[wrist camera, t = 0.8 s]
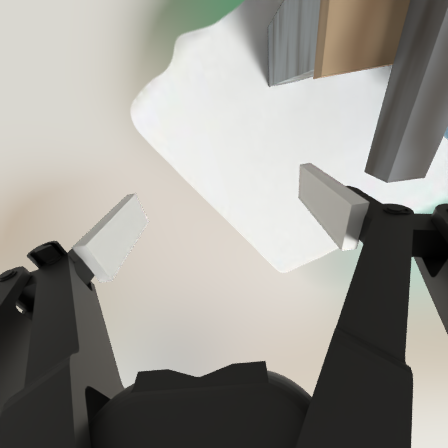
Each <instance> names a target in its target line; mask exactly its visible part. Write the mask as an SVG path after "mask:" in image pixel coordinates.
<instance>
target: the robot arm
mask: <svg viewBox="0 0 448 448" xmlns="http://www.w3.org/2000/svg"><path fill="white" fill-rule="evenodd" d="M444 137H445V138H446V139H448V127H447V129H446V132H445V134H444ZM298 198H299V199H300V200H301V201H302V203H303V204H304V205H305V206H306V208H307V209H308V210H309V211H310V213H311V214H312V215H313V216H314V217H315V219H316V220H317V221H318V222H319V224H320V225H321V226H322V227H323V229H324V230H325V231H326V232H327V233H328V235H329V236H330V237H331V238H332V240H333V241H334V242H335V243H336V244H337V246H338V247H339V248H340V249H341V251H343V250H350V249H356V248H357V246H358V242H359V240H360V241H361V242H362V243H363V247H362V250H361V253H360V256H359V260H358V262H357V266H356V269H355V272H354V275H353V278H352V281H351V284H350V287H349V290H348V293H347V296H346V299H345V302H344V305H343V308H342V311H341V314H340V317H339V320H338V323H337V326H336V328H335V331H334V333H333V336H332V339H331V342H330V345H329V349H328V352H327V354H326V357H325V360H324V364H323V366H322V369H321V372H320V375H319V378H318V381H317V384H316V387H315V390H314V394H313V396H312V397H311V396H310V395H309V394H308V393H307V392H306V391H305V390H304V389H303V388H301V387H300V386H299V385H297V384H296V383H295V382H293V381H292V380H290V379H288V378H286V377H285V376H282V375H280V374H277V373H274V372H271V371H267V368H266V362H265V361H261V362H250V363H237V364H231V365H229V366H226V367H224V368H221V369H219V370H216V371H214V372H212V373H209V374H207V375H204V376H202V377H194V376H191V375H187V374H183V373H180V372H176V371H172V370H169V369H166V370H153V371H141V372H138V374H137V377H136V380H135V383H134V384H132V385H131V386H129V387H127V388H125V389H124V387H123V385H122V383H121V379H120V376H119V372H118V369H117V365H116V361H115V358H114V354H113V351H112V347H111V343H110V340H109V336H108V333H107V329H106V325H105V322H104V318H103V315H102V311H101V307H100V304H99V300H98V297H97V293H96V289H95V286H94V284H93V283H92V282H91V280H92V278H93V277H94V276H95V277H96V278H97V279H98V281H99V282H107V281H112V280H113V278H114V277H115V275H116V274H117V272H118V270H119V269H120V267H121V266H122V264H123V263H124V261H125V259H126V258H127V256H128V254H129V253H130V251H131V250H132V248H133V247H134V245H135V243H136V242H137V240H138V239H139V237H140V235H141V234H142V232H143V231H144V229H145V227H146V226H147V224H148V223H149V220H148V218H147V216H146V214H145V212H144V210H143V207H142V205H141V204H140V201H139V199H138V197H137V195H136V194H130V195H127V196H126V197H124V198H123V199H122V200H121V201H120V202H119V203H118V204H117V205H116V206H115V207H114V208H113V209H112V210H111V211H110V212H109V213H108V214H107V215H106V216H105V217H104V218H102V219H101V220H100V221H99V222H98V223H97V224H96V225H95V226H94V227H93V228H92V229H91V230H90V231H89V232H88V233H87V234H86V235H85V236H84V237H83V238H81V240H79V241H78V242H77V243H76V244H75V245H74V246H73V247H72V249H71V250H70V251H69V252H68V253H67V252H66V251H65V250H64V249H63V248H62V246H61V245H60V244H59V243H58V242H57V241H51V242H47V243H45V244H42V245H41V246H38V247H36V248H35V249H33V250H32V251H31V252H30V253H28V255H27V257H28V258H29V259H30V260H31V261H32V262H33V263H34V264H35V265H36V266H37V267H38V268H39V269H38V270H36V271H33V272H29V271H28V270H27V269H26V268H24V267H23V266H22V267H16V268H14V269H11V270H7V271H6V272H4V273H2V274H1V275H0V448H411V429H412V399H413V374H412V370H411V368H410V367H409V366H408V365H406V362H405V348H406V333H407V317H408V302H409V287H410V271H411V257H414V259H415V261H416V263H417V265H418V267H419V270H420V272H421V275H422V277H423V279H424V282H425V284H426V286H427V288H428V291H429V293H430V295H431V298H432V300H433V302H434V304H435V307H436V309H437V311H438V314H439V316H440V318H441V320H442V323H443V325H444V327H445V330H446V332H447V334H448V204H441V205H438V206H437V207H436V208H435V210H434V212H433V214H414V212H413V210H411V209H410V208H408V207H405V206H403V205H398V204H382V203H380V202H378V201H377V200H375V199H374V198H372V197H370V196H368V195H367V194H366V193H363V192H362V191H361V190H359V189H358V188H354V187H351V186H344V185H343V184H341V183H340V182H338V181H337V180H335V179H334V178H332V177H331V176H329V175H328V174H326V173H325V172H323V171H322V170H320V169H319V168H317V167H316V166H314V165H313V164H311V163H307V164H301V165H300V175H299V197H298ZM16 305H17V306H18V307H19V308H21V309H22V310H23V311H22V313H21V312H19V311H18V309H17V308H16Z"/></svg>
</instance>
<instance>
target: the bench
mask: <svg viewBox="0 0 448 448" xmlns="http://www.w3.org/2000/svg"><path fill="white" fill-rule="evenodd" d="M409 3H410V0H284V1H283V3H282V4H281V6H280V8H279V9H278V11H277V13H276V14H275V16H274V18H273V19H272V21H271V23H270V25H269V26H268V69H269V87H270V86H275V85H281V84H286V83H292V82H296V81H300V80H303V79H306V78H309V77H313V79H316V78H322V77H328V76H333V75H339V74H344V73H350V72H355V71H361V70H366V69H372V68H378V67H383V66H389V65H393V63H394V59H395V56H396V52H397V48H398V44H399V41H400V37H401V33H402V29H403V26H404V22H405V18H406V14H407V11H408V7H409Z"/></svg>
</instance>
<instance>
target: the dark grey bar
mask: <svg viewBox="0 0 448 448" xmlns="http://www.w3.org/2000/svg"><path fill="white" fill-rule="evenodd" d="M447 127H448V0H410V3H409V7H408V11H407V14H406V18H405V22H404V26H403V29H402V33H401V37H400V41H399V44H398V48H397V52H396V56H395V59H394V63H393V67H392V70H391V74H390V78H389V82H388V85H387V89H386V93H385V97H384V100H383V104H382V108H381V112H380V115H379V119H378V123H377V127H376V130H375V134H374V138H373V142H372V145H371V149H370V153H369V156H368V160H367V164H366V168H365V171H364V172H366V173H368V174H370V175H372V176H374V177H376V178H378V179H380V180H382V181H385V182H387V183H389V182H396V181H403V180H411V179H418V178H425V176H426V173H427V171H428V169H429V167H430V165H431V162H432V160H433V158H434V156H435V154H436V151H437V149H438V147H439V145H440V143H441V140H442V138H443V136H444V134H445V132H446V129H447Z"/></svg>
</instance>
